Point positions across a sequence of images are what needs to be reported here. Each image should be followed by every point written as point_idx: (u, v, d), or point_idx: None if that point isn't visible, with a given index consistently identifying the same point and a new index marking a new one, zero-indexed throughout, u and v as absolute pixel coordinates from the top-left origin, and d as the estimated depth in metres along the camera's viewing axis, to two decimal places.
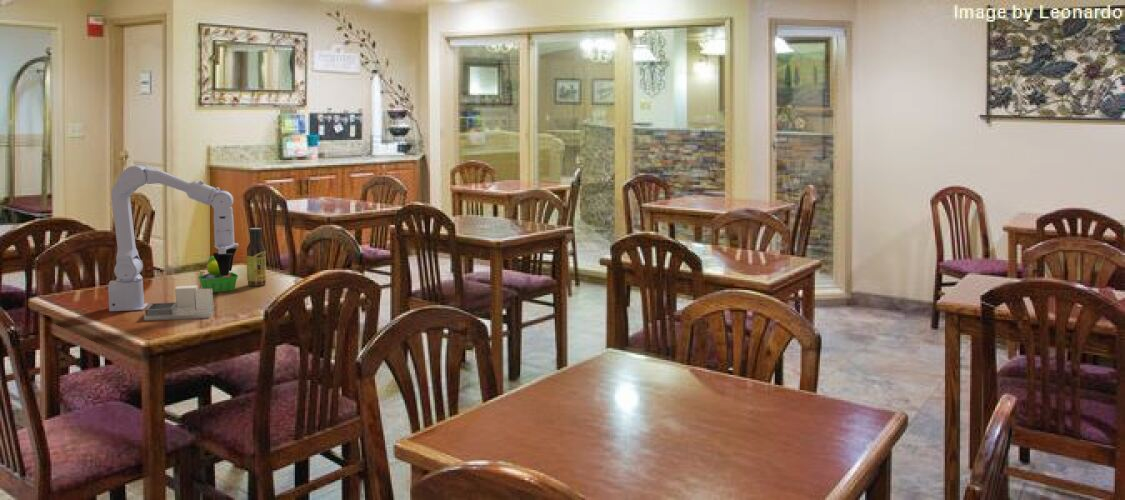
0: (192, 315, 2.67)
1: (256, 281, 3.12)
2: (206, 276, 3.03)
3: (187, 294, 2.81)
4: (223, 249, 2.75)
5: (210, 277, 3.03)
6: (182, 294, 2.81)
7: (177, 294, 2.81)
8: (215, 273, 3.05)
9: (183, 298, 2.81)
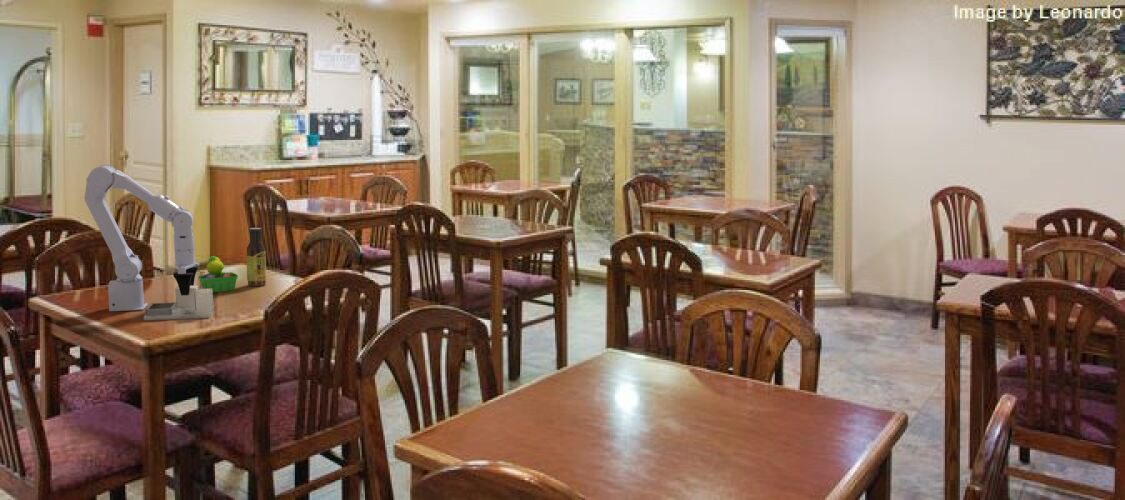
0: (192, 315, 2.67)
1: (256, 281, 3.12)
2: (206, 276, 3.03)
3: None
4: (183, 269, 2.75)
5: (210, 277, 3.03)
6: None
7: (177, 294, 2.81)
8: (215, 273, 3.05)
9: (183, 298, 2.81)
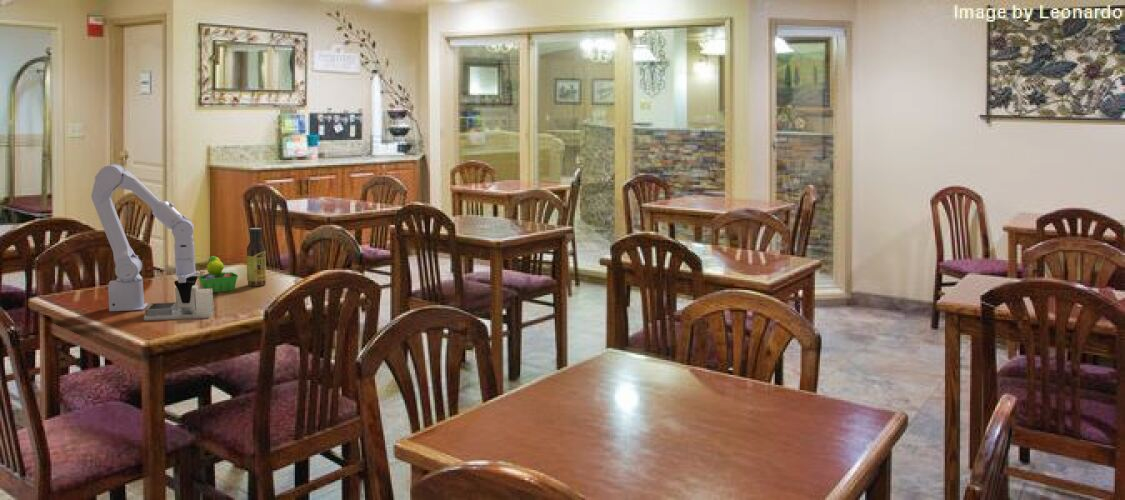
0: (192, 315, 2.67)
1: (256, 281, 3.12)
2: (206, 276, 3.03)
3: None
4: (183, 278, 2.75)
5: (210, 277, 3.03)
6: None
7: (177, 294, 2.80)
8: (215, 273, 3.05)
9: None
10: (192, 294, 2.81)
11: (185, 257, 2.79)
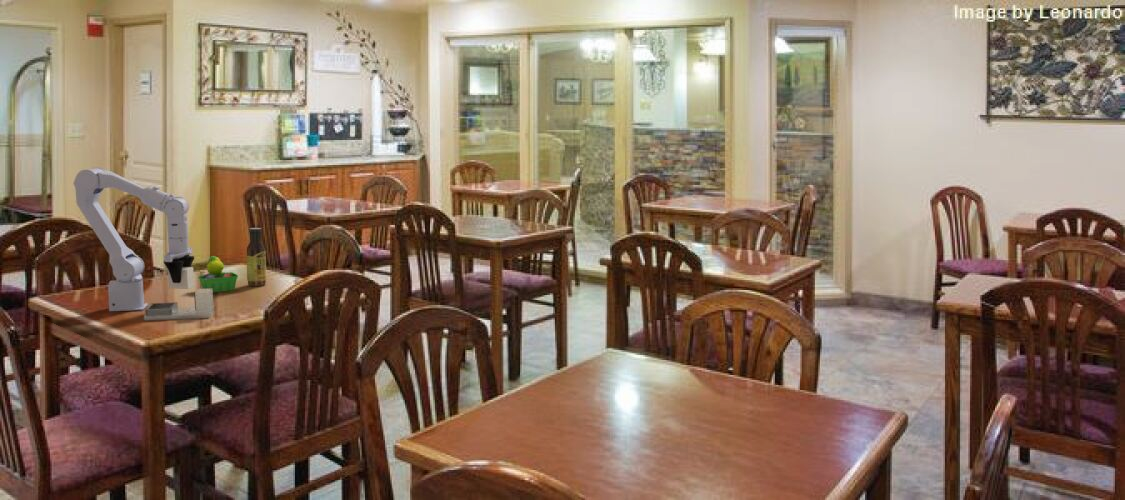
0: (192, 315, 2.67)
1: (256, 281, 3.12)
2: (206, 276, 3.03)
3: None
4: (168, 257, 2.71)
5: (210, 277, 3.03)
6: None
7: None
8: (215, 273, 3.05)
9: None
10: (184, 276, 2.77)
11: (176, 236, 2.74)
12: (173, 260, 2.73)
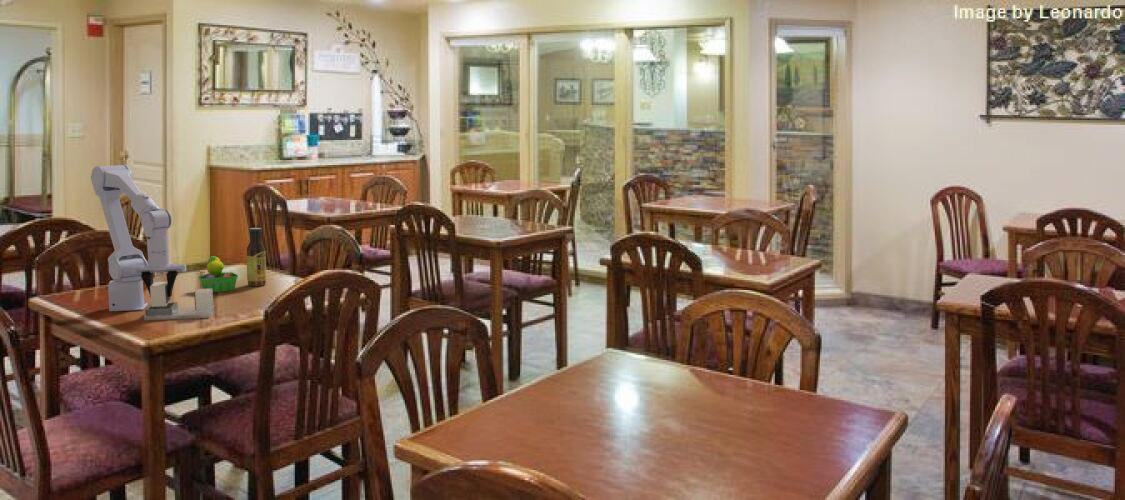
0: (192, 315, 2.67)
1: (256, 281, 3.12)
2: (206, 276, 3.03)
3: None
4: (132, 268, 2.66)
5: (210, 277, 3.03)
6: None
7: None
8: (215, 273, 3.05)
9: None
10: None
11: (150, 250, 2.64)
12: (141, 273, 2.66)
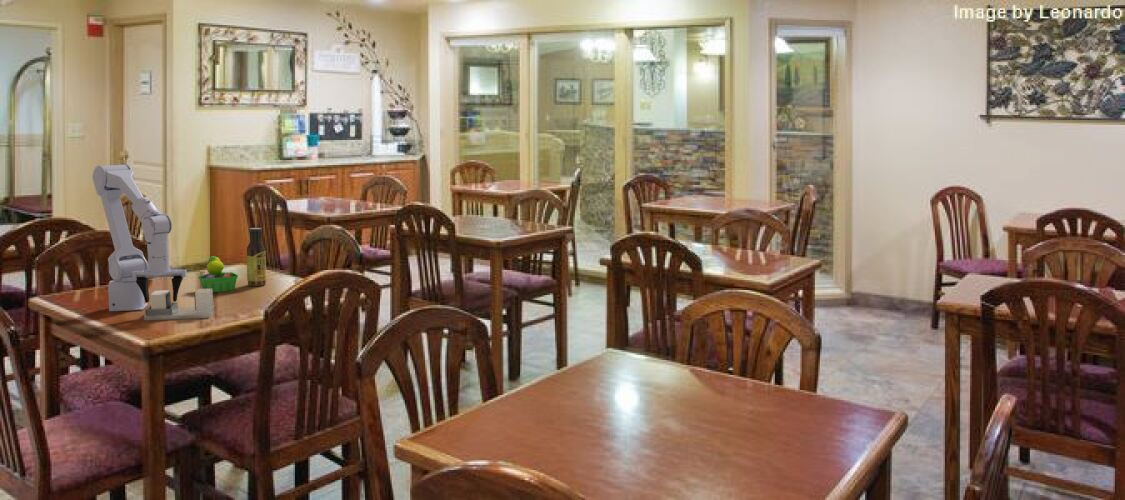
0: (192, 315, 2.67)
1: (256, 281, 3.12)
2: (206, 276, 3.03)
3: None
4: None
5: (210, 277, 3.03)
6: None
7: None
8: (215, 273, 3.05)
9: None
10: None
11: (150, 255, 2.64)
12: None
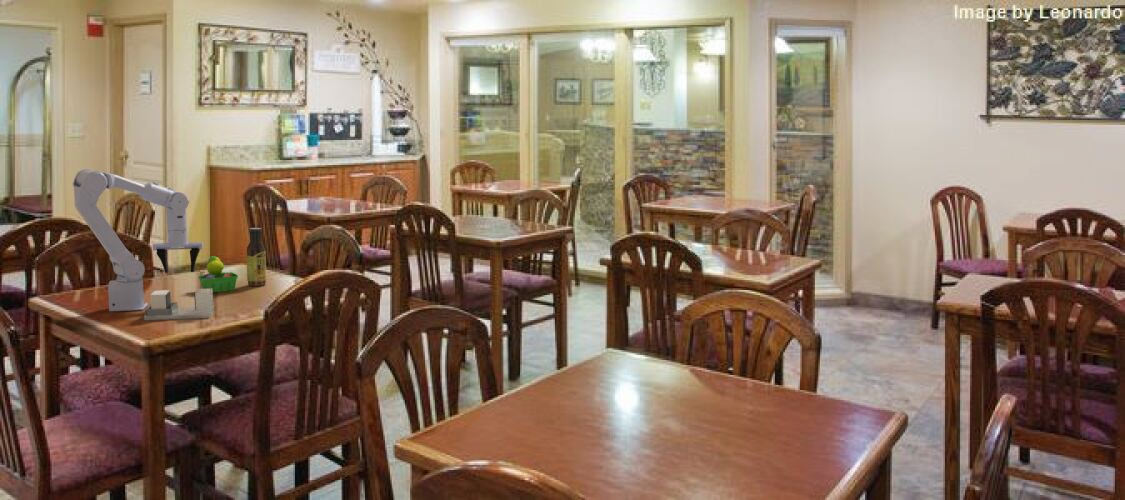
0: (192, 315, 2.67)
1: (256, 281, 3.12)
2: (206, 276, 3.03)
3: None
4: (153, 245, 2.84)
5: (210, 277, 3.03)
6: None
7: None
8: (215, 273, 3.05)
9: None
10: None
11: (182, 228, 2.84)
12: None
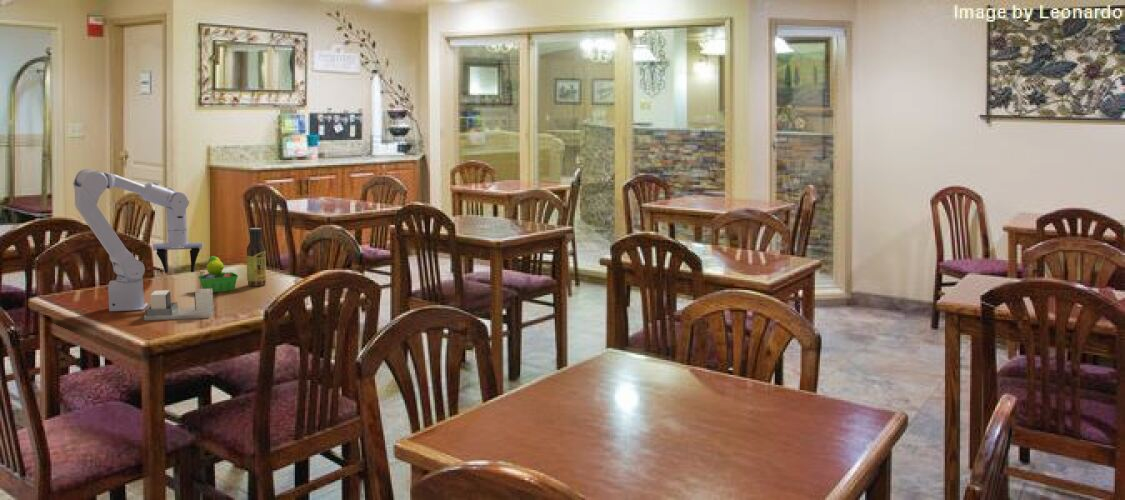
0: (192, 315, 2.67)
1: (256, 281, 3.12)
2: (206, 276, 3.03)
3: None
4: (153, 245, 2.84)
5: (210, 277, 3.03)
6: None
7: None
8: (215, 273, 3.05)
9: None
10: None
11: (182, 228, 2.84)
12: None
